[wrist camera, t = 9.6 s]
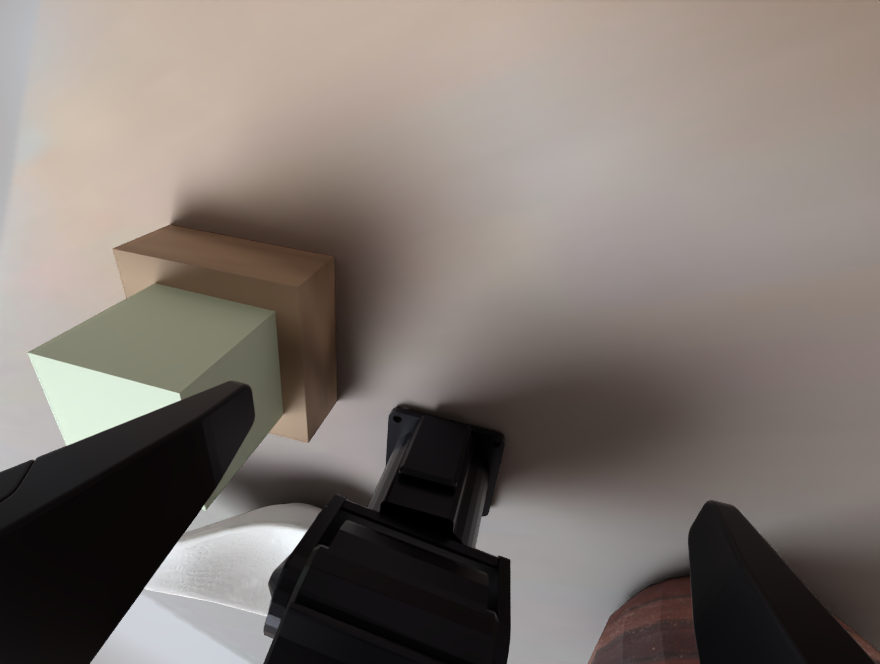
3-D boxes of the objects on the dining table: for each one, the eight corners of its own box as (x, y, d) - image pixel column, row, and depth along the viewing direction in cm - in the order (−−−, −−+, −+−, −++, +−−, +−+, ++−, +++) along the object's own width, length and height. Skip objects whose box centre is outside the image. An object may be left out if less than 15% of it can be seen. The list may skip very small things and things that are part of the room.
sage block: (283, 414, 24) (205, 510, 19) (177, 386, 25) (77, 470, 20) (275, 311, 21) (179, 393, 16) (154, 283, 22) (27, 352, 17)
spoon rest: (411, 510, 31) (372, 619, 25) (384, 602, 37) (348, 707, 31) (94, 395, 33) (-12, 470, 27) (118, 500, 40) (37, 580, 34)
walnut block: (340, 396, 28) (308, 443, 25) (203, 363, 29) (155, 403, 26) (337, 253, 23) (297, 287, 20) (175, 222, 25) (112, 248, 21)
